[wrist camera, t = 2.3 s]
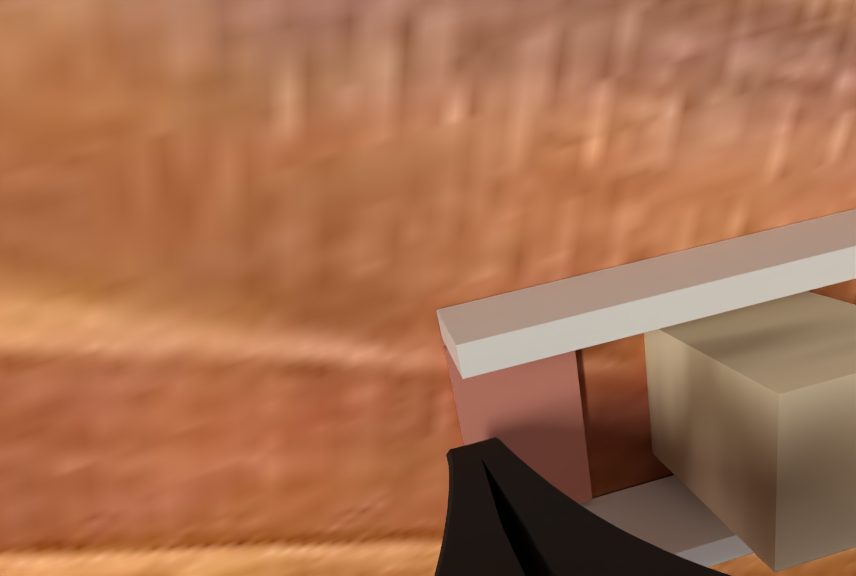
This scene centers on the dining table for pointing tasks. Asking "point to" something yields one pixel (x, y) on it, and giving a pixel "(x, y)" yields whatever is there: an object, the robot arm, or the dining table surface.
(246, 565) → the dining table surface
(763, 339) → the block
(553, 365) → the pad
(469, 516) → the robot arm
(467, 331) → the channel
